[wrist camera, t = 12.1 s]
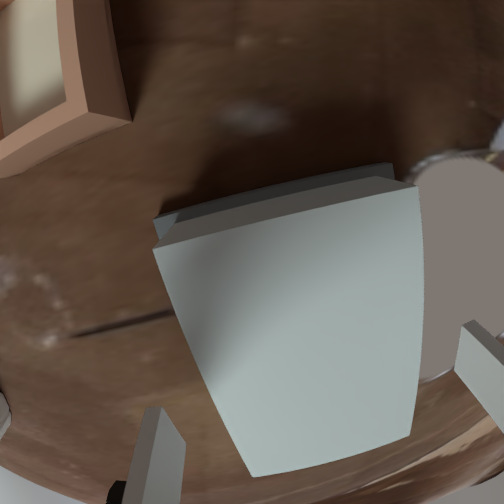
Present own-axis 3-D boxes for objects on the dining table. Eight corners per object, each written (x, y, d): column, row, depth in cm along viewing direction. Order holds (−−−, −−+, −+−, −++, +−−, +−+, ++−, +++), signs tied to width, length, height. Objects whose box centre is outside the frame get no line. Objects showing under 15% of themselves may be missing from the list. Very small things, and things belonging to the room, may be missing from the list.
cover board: (174, 223, 15) (152, 249, 11) (376, 176, 14) (417, 185, 10) (250, 432, 19) (252, 477, 15) (388, 395, 19) (409, 435, 15)
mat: (157, 215, 15) (152, 219, 14) (383, 162, 15) (392, 163, 14) (238, 428, 20) (238, 438, 19) (395, 387, 20) (401, 395, 19)
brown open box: (3, 17, 10) (-42, -1, 6) (104, -43, 10) (72, -82, 5) (18, 174, 14) (-38, 187, 9) (132, 122, 14) (88, 112, 9)
